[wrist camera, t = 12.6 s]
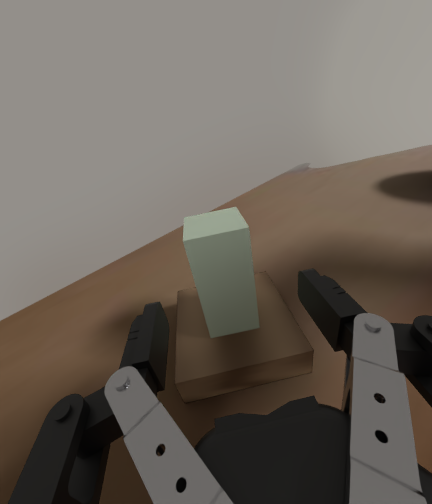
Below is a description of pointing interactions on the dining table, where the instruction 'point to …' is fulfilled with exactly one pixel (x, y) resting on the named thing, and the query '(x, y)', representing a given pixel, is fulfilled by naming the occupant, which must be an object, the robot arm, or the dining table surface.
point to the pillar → (222, 270)
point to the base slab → (238, 347)
